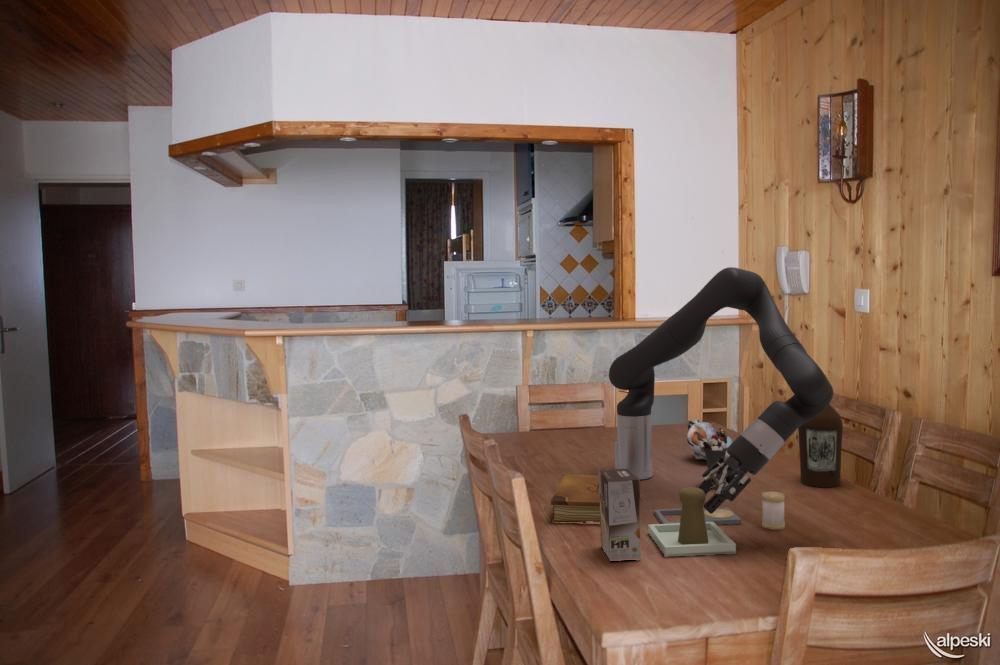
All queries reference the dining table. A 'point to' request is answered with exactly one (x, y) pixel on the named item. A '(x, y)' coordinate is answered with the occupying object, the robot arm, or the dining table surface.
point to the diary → (578, 499)
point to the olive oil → (821, 449)
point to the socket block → (718, 516)
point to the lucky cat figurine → (704, 437)
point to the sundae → (714, 450)
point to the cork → (692, 517)
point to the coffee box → (619, 514)
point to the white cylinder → (773, 510)
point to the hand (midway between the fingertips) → (700, 504)
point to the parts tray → (670, 546)
